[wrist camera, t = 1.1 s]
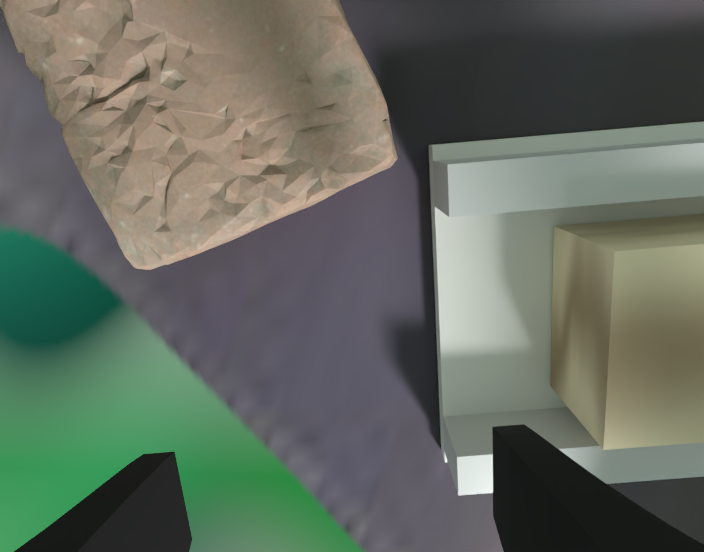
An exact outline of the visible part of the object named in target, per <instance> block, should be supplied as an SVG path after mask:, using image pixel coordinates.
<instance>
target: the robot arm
mask: <svg viewBox="0 0 704 552" xmlns="http://www.w3.org/2000/svg"><path fill="white" fill-rule="evenodd" d="M492 434H493V516H494V520H495V523H496V527H497V530H498V534H499V537H500V540H501V544H502V547H503V550H504V552H704V545H703V544H701V543H699V542H698V541H696V540H694V539H692V538H691V537H689V536H687V535H686V534H684V533H682V532H680V531H679V530H677V529H675V528H674V527H672V526H670V525H669V524H667V523H666V522H664V521H662V520H661V519H659V518H658V517H656V516H655V515H653V514H651V513H650V512H648V511H647V510H645V509H643V508H642V507H640V506H639V505H637V504H636V503H634V502H632V501H631V500H629V499H628V498H626V497H625V496H623V495H622V494H620V493H619V492H618V491H616V490H615V489H613V488H612V487H610V486H609V485H607V484H606V483H604V482H603V481H602V480H600V479H599V478H597V477H596V476H594V475H593V474H592V473H590V472H589V471H587V470H586V469H585V468H583V467H582V466H581V465H579V464H578V463H576V462H575V461H574V460H572V459H571V458H570V457H568V456H567V455H566V454H564V453H563V452H562V451H560V450H559V449H557V448H556V447H555V446H553V445H552V444H551V443H549V442H548V441H547V440H545V439H544V438H543V437H541V436H540V435H539V434H537V433H536V432H535V431H533V430H532V429H530V428H529V427H527V426H526V425H524V424H521V425H509V426H496V427H492ZM191 541H192V537H191V532H190V527H189V522H188V517H187V512H186V507H185V502H184V497H183V492H182V487H181V482H180V477H179V472H178V467H177V463H176V457H175V452H166V453H154V454H143V455H142V456H140V457H139V458H137V459H136V460H134V461H133V462H131V463H130V464H129V465H127V466H126V467H125V468H123V469H122V470H121V471H119V472H118V473H117V474H116V475H114V476H113V477H112V478H110V479H109V480H108V481H107V482H105V483H104V484H103V485H101V486H100V487H99V488H98V489H96V490H95V491H94V492H92V493H91V494H90V495H89V496H87V497H86V498H85V499H84V500H82V501H81V502H80V503H78V504H77V505H76V506H74V507H73V508H72V509H71V510H69V511H68V512H67V513H65V514H64V515H63V516H62V517H60V518H59V519H58V520H57V521H55V522H54V523H53V524H51V525H50V526H49V527H47V528H46V529H45V530H43V531H42V532H40V533H39V534H38V535H36V536H35V537H34V538H32V539H31V540H29V541H28V542H27V543H25V544H24V545H23V546H21V547H20V548H18V549H17V550H16V551H14V552H189V549H190V545H191Z"/></svg>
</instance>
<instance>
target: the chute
mask: <svg viewBox="0 0 704 552" xmlns="http://www.w3.org/2000/svg"><path fill="white" fill-rule="evenodd" d="M428 147H429V170H430V194H431V218H432V242H433V266H434V290H435V314H436V338H437V362H438V386H439V410H440V434H441V451H442V455H443V458H444V461H445V462H448V464H449V467H450V471H451V474H452V477H453V480H454V483H455V487H456V490H457V493H458V495H470V494H483V493H493V434H492V427H496V426H509V425H521V424H524V425H526V426H527V427H529V428H530V429H532V430H533V431H535V432H536V433H537V434H539V435H540V436H541V437H543V438H544V439H545V440H547V441H548V442H549V443H551V444H552V445H553V446H555V447H556V448H557V449H559V450H560V451H562V452H563V453H564V454H566V455H567V456H568V457H570V458H571V459H572V460H574V461H575V462H576V463H578V464H579V465H581V466H582V467H583V468H585V469H586V470H587V471H589V472H590V473H592V474H593V475H594V476H596V477H597V478H599V479H600V480H602V481H603V482H604V483H606V484H613V483H626V482H639V481H652V480H665V479H678V478H691V477H704V442H701V443H688V444H676V445H663V446H650V447H637V448H624V449H611V450H603V449H602V448H601V447H600V445H599V444H598V443H597V442H596V440H595V439H594V438H593V437H592V436H591V434H590V433H589V432H588V431H587V430H586V428H585V427H584V426H583V425H582V424H581V422H580V421H579V420H578V419H577V417H576V416H575V415H574V414H573V413H572V411H571V410H570V409H569V408H568V407H567V405H566V404H565V403H564V402H563V401H562V399H561V398H560V397H559V396H558V395H557V393H556V392H555V391H554V390H553V388H552V387H551V386H550V378H551V333H552V289H553V245H554V226H561V225H573V224H585V223H597V222H609V221H621V220H633V219H645V218H657V217H669V216H681V215H693V214H704V121H702V122H690V123H679V124H667V125H655V126H644V127H632V128H620V129H609V130H597V131H585V132H574V133H562V134H550V135H539V136H527V137H515V138H504V139H492V140H481V141H469V142H457V143H446V144H434V145H428Z"/></svg>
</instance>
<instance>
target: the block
mask: <svg viewBox="0 0 704 552" xmlns="http://www.w3.org/2000/svg"><path fill="white" fill-rule="evenodd" d="M550 386H551V387H552V388H553V390H554V391H555V392H556V393H557V395H558V396H559V397H560V398H561V399H562V401H563V402H564V403H565V404H566V405H567V407H568V408H569V409H570V410H571V411H572V413H573V414H574V415H575V416H576V417H577V419H578V420H579V421H580V422H581V424H582V425H583V426H584V427H585V428H586V430H587V431H588V432H589V433H590V434H591V436H592V437H593V438H594V439H595V440H596V442H597V443H598V444H599V445H600V447H601V448H602V449H603V450H611V449H624V448H637V447H650V446H663V445H676V444H688V443H701V442H704V214H693V215H681V216H669V217H657V218H645V219H633V220H621V221H609V222H597V223H585V224H573V225H561V226H554V245H553V289H552V333H551V378H550Z"/></svg>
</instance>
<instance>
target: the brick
mask: <svg viewBox="0 0 704 552" xmlns="http://www.w3.org/2000/svg"><path fill="white" fill-rule="evenodd" d="M0 7H1V9H2V10H3V14H4V17H5V21H6V23H7V25H8V28H9V30H10V32H11V35H12V37H13V39H14V42H15V45H16V48H17V51H18V52H19V53H21V54H23V55H25V60H26V65H27V67H28V68H29V69H30V70H31V72H32V73H33V74H34V75H35V76H36V77H37V78H38V79H39V80H40V81H41V82H42V86H43V90H44V94H45V98H46V102H47V105H48V108H49V111H50V114H51V115H52V116H53V117H54V118H55V119H57V120H58V121H59V122H60V123H61V124H62V134H63V136H64V139H65V142H66V145H67V147H68V150H69V152H70V154H71V156H72V158H73V160H74V162H75V164H76V166H77V168H78V170H79V172H80V174H81V176H82V178H83V180H84V182H85V184H86V186H87V187H88V189H89V191H90V193H91V195H92V196H93V198H94V200H95V202H96V204H97V205H98V207H99V209H100V211H101V212H102V214H103V216H104V218H105V219H106V221H107V223H108V224H109V226H110V228H111V229H112V231H113V233H114V234H115V236H116V239H117V242H118V244H119V246H120V248H121V250H122V252H123V254H124V256H125V257H126V258H127V259H128V260H129V262H130V263H131V264H132V265H133V266H134V268H138V269H147V270H151V269H154V268H157V267H159V266H162V265H165V264H166V265H168V264H171V263H174V262H176V261H179V260H182V259H184V258H187V257H191V256H193V255H196V254H198V253H201V252H204V251H206V250H208V249H211V248H214V247H216V246H219V245H221V244H224V243H226V242H229V241H231V240H234V239H236V238H238V237H240V236H242V235H245V234H247V233H249V232H251V231H253V230H255V229H257V228H259V227H262V226H264V225H266V224H268V223H270V222H273V221H275V220H277V219H280V218H282V217H284V216H287V215H289V214H292V213H294V212H297V211H299V210H302V209H304V208H307V207H309V206H311V205H314V204H316V203H318V202H320V201H322V200H324V199H326V198H327V197H329V196H331V195H333V194H334V193H336V192H338V191H340V190H342V189H344V188H346V187H348V186H350V185H353V184H355V183H357V182H359V181H362V180H364V179H366V178H368V177H370V176H372V175H374V174H376V173H378V172H381V171H383V170H385V169H388V168H390V167H392V165H393V164H394V163H395V161H396V160H397V159H398V158H397V154H396V149H395V145H394V142H393V137H392V131H391V126H390V120H389V114H388V108H387V104H386V101H385V98H384V96H383V93H382V90H381V88H380V86H379V84H378V82H377V80H376V77H375V75H374V73H373V71H372V69H371V67H370V65H369V64H368V62H367V60H366V58H365V56H364V54H363V52H362V50H361V48H360V47H359V45H358V43H357V40H356V38H355V36H354V34H353V32H352V30H351V28H350V26H349V24H348V22H347V19H346V17H345V14H344V12H343V9H342V6H341V4H340V1H339V0H0Z"/></svg>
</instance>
